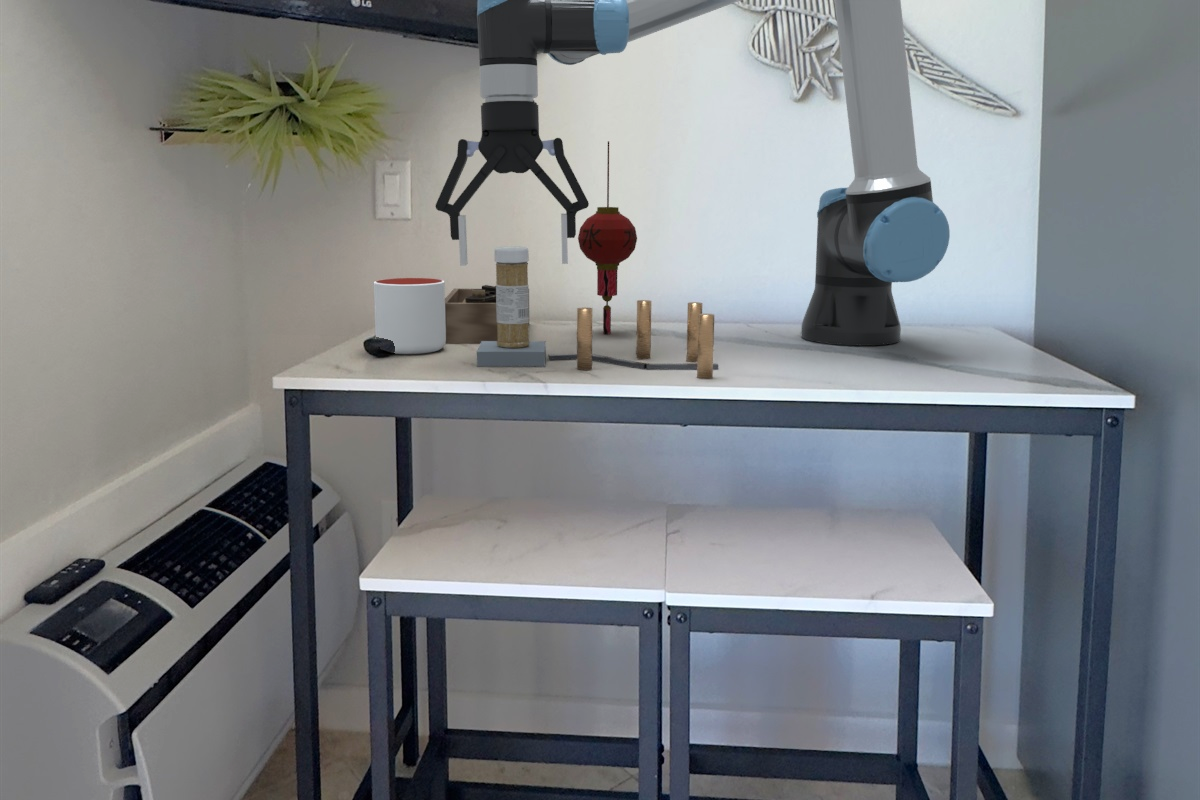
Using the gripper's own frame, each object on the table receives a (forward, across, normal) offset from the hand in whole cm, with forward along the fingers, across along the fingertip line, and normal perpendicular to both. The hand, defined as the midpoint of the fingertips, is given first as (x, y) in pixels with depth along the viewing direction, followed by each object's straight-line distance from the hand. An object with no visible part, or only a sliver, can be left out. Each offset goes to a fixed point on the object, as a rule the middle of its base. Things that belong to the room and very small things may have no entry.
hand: (514, 264), depth 147 cm
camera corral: (+13, +6, -25) cm, 29 cm away
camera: (+14, +6, -24) cm, 28 cm away
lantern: (+14, -13, -25) cm, 31 cm away
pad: (+13, +1, 0) cm, 13 cm away
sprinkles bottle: (+11, 0, 0) cm, 11 cm away
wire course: (+13, -16, +5) cm, 21 cm away
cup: (+13, +16, -9) cm, 22 cm away
